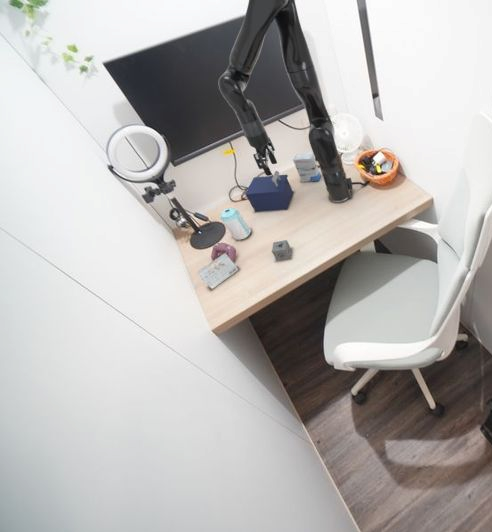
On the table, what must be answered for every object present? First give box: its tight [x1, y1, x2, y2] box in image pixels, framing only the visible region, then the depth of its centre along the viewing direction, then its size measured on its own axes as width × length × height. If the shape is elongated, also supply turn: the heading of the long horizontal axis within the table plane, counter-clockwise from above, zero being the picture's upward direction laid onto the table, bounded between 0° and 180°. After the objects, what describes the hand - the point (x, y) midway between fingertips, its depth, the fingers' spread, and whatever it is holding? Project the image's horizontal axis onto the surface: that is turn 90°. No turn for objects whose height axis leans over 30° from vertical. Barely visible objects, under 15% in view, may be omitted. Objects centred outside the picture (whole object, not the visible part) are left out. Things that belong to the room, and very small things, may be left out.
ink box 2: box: [292, 153, 321, 183], centre depth 149 cm, size 8×5×12 cm, turn 84°
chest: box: [246, 178, 294, 213], centre depth 141 cm, size 15×12×9 cm
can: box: [220, 207, 251, 241], centre depth 127 cm, size 7×7×12 cm
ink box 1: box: [196, 252, 239, 290], centre depth 113 cm, size 2×11×10 cm, turn 140°
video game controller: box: [210, 242, 237, 263], centre depth 122 cm, size 10×5×7 cm, turn 71°
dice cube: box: [271, 239, 292, 262], centre depth 119 cm, size 5×5×5 cm
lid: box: [245, 170, 289, 197], centre depth 135 cm, size 15×12×5 cm
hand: (272, 169), depth 131 cm, fingers open, 8 cm apart
